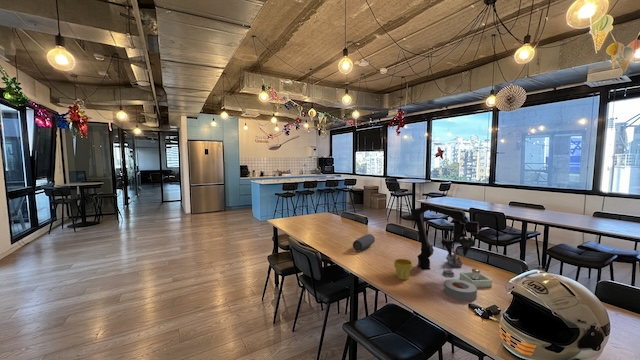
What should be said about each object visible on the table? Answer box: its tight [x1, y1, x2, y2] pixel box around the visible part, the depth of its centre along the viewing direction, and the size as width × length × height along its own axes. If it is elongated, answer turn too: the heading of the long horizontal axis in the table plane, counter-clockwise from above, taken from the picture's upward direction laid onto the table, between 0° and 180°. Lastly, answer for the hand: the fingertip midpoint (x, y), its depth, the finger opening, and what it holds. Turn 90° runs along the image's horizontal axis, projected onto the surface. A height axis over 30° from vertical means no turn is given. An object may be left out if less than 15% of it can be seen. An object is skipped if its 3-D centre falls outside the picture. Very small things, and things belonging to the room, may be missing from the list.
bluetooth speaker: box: [352, 233, 376, 252], centre depth 212 cm, size 23×9×10 cm, turn 144°
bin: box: [459, 271, 493, 289], centre depth 155 cm, size 12×12×4 cm
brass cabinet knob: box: [471, 268, 481, 281], centre depth 154 cm, size 5×5×7 cm
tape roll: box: [443, 278, 478, 303], centre depth 142 cm, size 15×15×5 cm
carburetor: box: [445, 249, 463, 268], centre depth 181 cm, size 11×11×12 cm
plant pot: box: [393, 258, 413, 281], centre depth 161 cm, size 10×10×10 cm
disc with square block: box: [442, 269, 455, 278], centre depth 166 cm, size 6×6×2 cm
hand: (457, 256), depth 163 cm, fingers open, 9 cm apart
